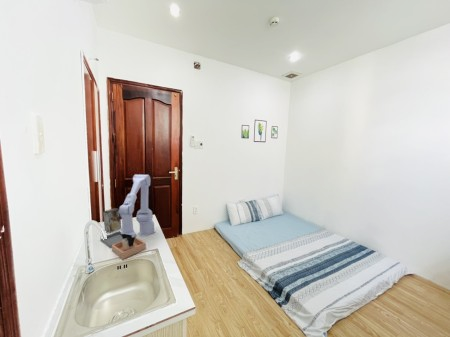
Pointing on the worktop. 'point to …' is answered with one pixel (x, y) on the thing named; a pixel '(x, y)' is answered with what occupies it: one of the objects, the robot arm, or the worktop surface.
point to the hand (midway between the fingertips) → (128, 244)
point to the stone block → (126, 244)
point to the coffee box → (112, 220)
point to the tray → (112, 239)
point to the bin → (129, 252)
